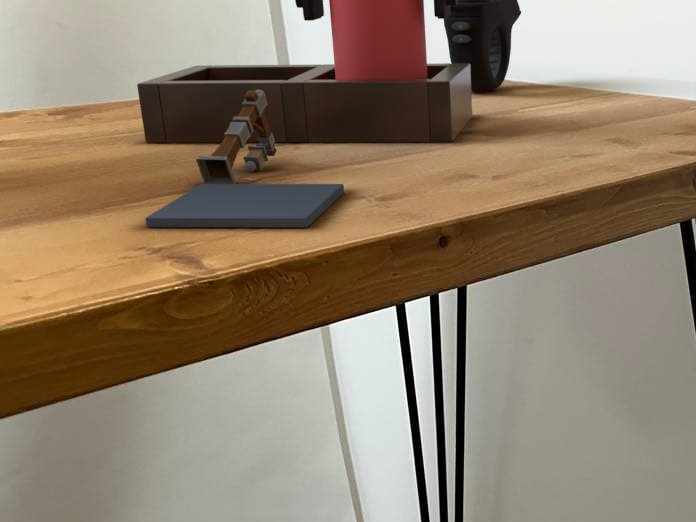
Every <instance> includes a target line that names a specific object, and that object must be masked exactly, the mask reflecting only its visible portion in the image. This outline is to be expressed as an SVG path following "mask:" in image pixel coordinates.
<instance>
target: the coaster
mask: <svg viewBox="0 0 696 522" xmlns="http://www.w3.org/2000/svg"><path fill="white" fill-rule="evenodd" d="M344 193H345V184H344V183H235V184H205V183H201V184H199V185H197V186H196V187H194V188H192V189H190V190H189V191H188V192H186V193H184V194H183V195H181V196H179V197H178V198H176V199H174V200H173V201H170V202H169V203H168V204H166V205H164V206H163V207H161V208H159V209H158V210H156V211H155V212H153V213H151V214H149V215H147V216H145V225H146V228H259V229H261V228H266V229H267V228H271V229H272V228H285V229H286V228H291V229H292V228H293V229H294V228H295V229H297V228H302V229H303V228H304V229H305V228H308V227H309V226H310V225H312V224H313V223H314V221H316V220H317V219H318V218H319V217H320V216H321V215H322V214H323V213H324V212H325V211H327V209H328V208H330V207H331V206H332V204H334V203H335V202H336V201H337V200H338V199H339V198H340V197H342V196H343V194H344Z"/></svg>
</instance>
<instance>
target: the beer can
mask: <svg viewBox="0 0 696 522" xmlns="http://www.w3.org/2000/svg"><path fill="white" fill-rule="evenodd" d="M424 2H425V1H424V0H328V3H329V4H328V5H329V15H330V26H331V39H332V40H331V41H332V50H333V51H332V52H333V61H334V63H333V64H334V65H335V77H336V80H361V79H428V76H427V64H428V60H427V59H428V58H427V40H426V38H427V37H426V22H425V21H426V20H425V18H426V17H425V3H424Z"/></svg>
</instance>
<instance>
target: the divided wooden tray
mask: <svg viewBox="0 0 696 522" xmlns="http://www.w3.org/2000/svg"><path fill="white" fill-rule="evenodd" d="M427 76H428V79H361V80H336V77H335V65H334V63H332V64H331V63H330V64H325V63H324V64H225V65H223V64H222V65H221V64H218V65H212V64H211V65H193V66H190V67H187V68H183V69H180V70H177V71H174V72H171V73H168V74H164V75H162V76H157V77H153V78H151V79H148V80H145V81H141V82H139V83H137V84H136V86H137V87H136V88H137V93H138V100H139V106H140V107H139V108H140V113H141V119H142V125H143V133H144V140H145V143H146V144H166V143H168V144H187V143H188V144H189V143H190V144H191V143H192V144H196V143H198V144H203V143H204V144H210V143H211V144H213V143H214V144H215V143H216V144H217V143H219V144H221V143H222V142H223V140H224V139H225V136H224V133H225V132H226V131H227V130H228V128H229V126H230V122H233V121H232V119H233V118H234V117H238V115H239V114H240V112H241V110H242V109H243V106H242V103H243V102H244V100H245V99H246V98H245V95H246V93H247V92H248V91H256V90H262V91H264V93H265V97H266V101H267V104H268V105H267V106H266V107H265V109H264V110H263V112H264V115H265V118H266V121H267V124H268V127H269V130H270V132H272V134H273V137H274V140H275V142H274V143H430V142H431V143H437V142H438V143H451V142H453V141H454V140H455V139H456V137H457V136H458V135H459V134H460V132H461V131H462V130H463V129H464V127H465V126H466V125H467V123H469V121H470V120H471V118H472V117H473V99H472V98H473V97H472V91H471V70H470V63H452V64H451V62H448V63H447V62H446V63H445V62H444V63H427ZM253 130H254V131H253V132H252V134H250V136H251V137H250V138H248V140H247V141H246V143H247V144H248V143H259V140H258V136H259V135H258V132H257V131H256V130H255V129H253ZM246 143H245V144H246Z"/></svg>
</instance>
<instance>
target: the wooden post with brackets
mask: <svg viewBox="0 0 696 522" xmlns="http://www.w3.org/2000/svg"><path fill="white" fill-rule="evenodd" d="M245 98H246V99H245V100H244V102H243V103H242V106H243V109H242V110H241V112H240V114H239V115H238V117H234V118H233V119H232V121H233V122H230V126H229V128H228V130H227V131H226V132H225V133H224V136H225V139H224V140H223V142H222V143H219V145H218V146H217V147H216V148H215V150H214V151H213V152H212V153H211V154H210V155H198V158H195V161H196V164H197V167H198V170H199V173H200V176H201V178H202V181H203V184H236V182H237V180H236V178H235V175H234V172H233V169H234V165H235V162H236V159H237V156H238V153H239V152H240V150H241V149H245V145H246V141H247V140H248V138H250V137H251V136H250V134H252V132H253V131H254V130H253V129H255V130H256V131H257V132H258V135H259V136H258V140H259V142H258V143H257V144H255V145H247V149H248V152H247V154H246V155H244V156H243V157H242V158H243V161H244V164H245V169H246V171H248V172H251V173H252V172H254V171H263V164H264V163H265V162H269V157H275V155H276V153H277V152H278V150H277V148H276V144H275V143H276V142H275V140H274V137H273V134H272V132H270V130H269V127H268V124H267V121H266V118H265V115H264V112H263V110H264V109H265V107H266V106H267V105H268V104H267V101H266V97H265V93H264V91H262V90H256V91H248V92H247V93H246V95H245Z"/></svg>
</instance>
